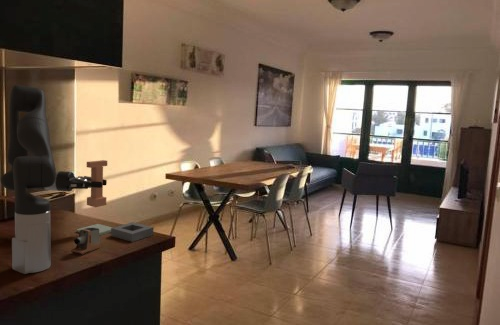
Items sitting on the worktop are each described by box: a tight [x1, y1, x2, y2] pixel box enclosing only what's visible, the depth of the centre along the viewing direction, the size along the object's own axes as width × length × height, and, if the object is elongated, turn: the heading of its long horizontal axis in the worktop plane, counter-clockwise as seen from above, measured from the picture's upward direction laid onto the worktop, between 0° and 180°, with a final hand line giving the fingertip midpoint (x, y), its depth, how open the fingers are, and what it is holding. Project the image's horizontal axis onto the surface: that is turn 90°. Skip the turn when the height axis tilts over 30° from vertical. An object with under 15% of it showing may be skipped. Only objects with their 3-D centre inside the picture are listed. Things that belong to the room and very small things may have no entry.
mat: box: [76, 223, 113, 236], centre depth 160 cm, size 10×10×1 cm
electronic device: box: [70, 228, 101, 257], centre depth 138 cm, size 4×10×8 cm, turn 162°
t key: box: [86, 159, 108, 208], centre depth 157 cm, size 8×5×17 cm, turn 151°
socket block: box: [110, 221, 154, 243], centre depth 157 cm, size 11×11×3 cm
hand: (104, 183), depth 157 cm, fingers closed on t key, 4 cm apart
